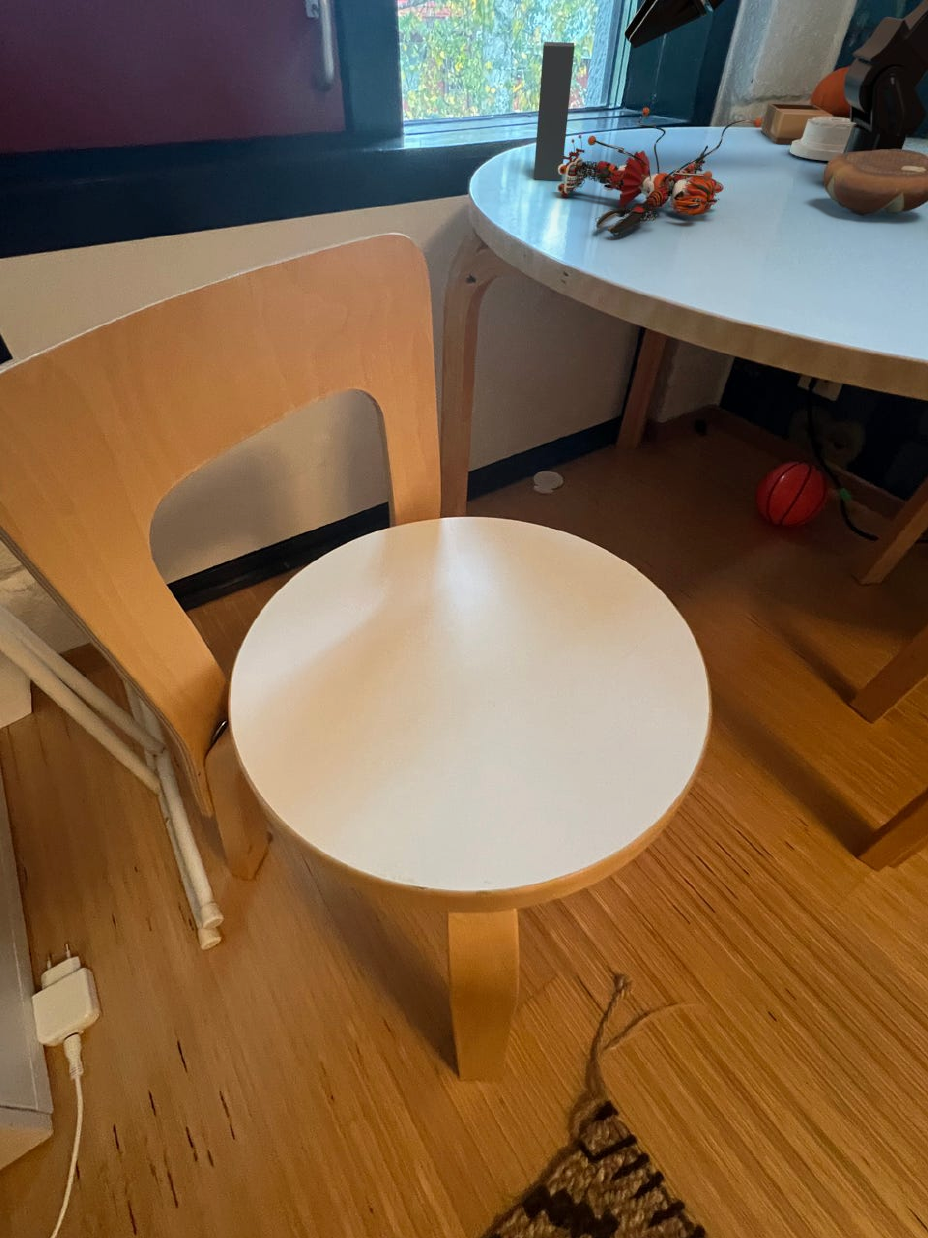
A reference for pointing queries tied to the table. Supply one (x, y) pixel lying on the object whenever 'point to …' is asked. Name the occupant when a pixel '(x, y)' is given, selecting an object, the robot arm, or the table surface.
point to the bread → (878, 180)
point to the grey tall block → (553, 109)
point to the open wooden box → (789, 121)
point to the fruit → (832, 94)
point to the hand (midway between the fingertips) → (628, 40)
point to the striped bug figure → (644, 183)
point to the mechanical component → (823, 138)
